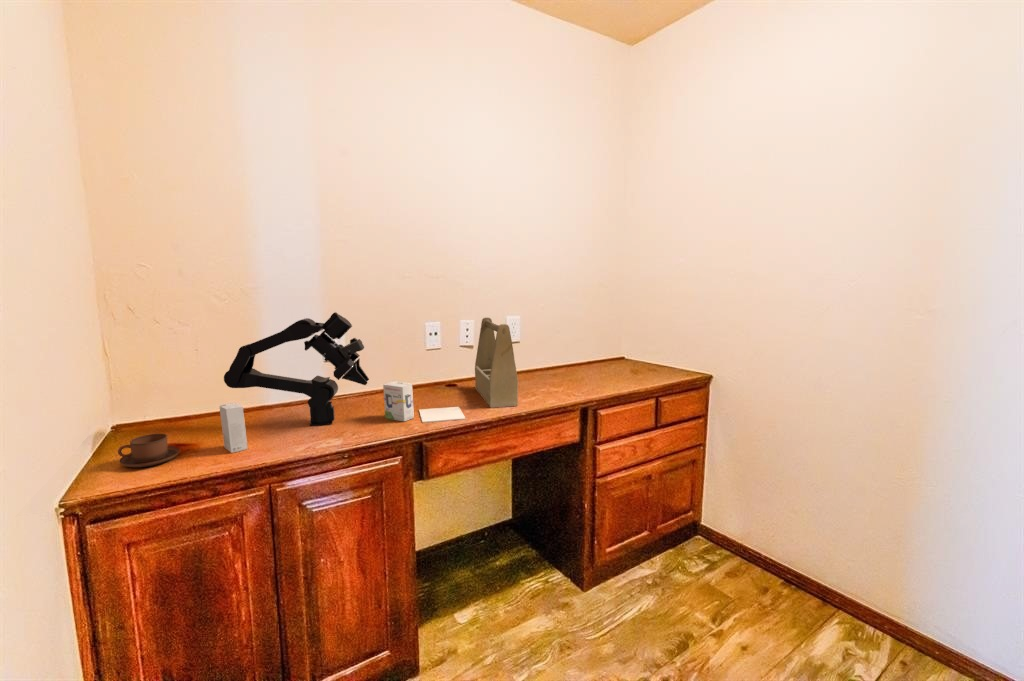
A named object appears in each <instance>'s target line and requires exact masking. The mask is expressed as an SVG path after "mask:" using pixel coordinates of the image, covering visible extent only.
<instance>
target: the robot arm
mask: <svg viewBox="0 0 1024 681" xmlns="http://www.w3.org/2000/svg"><path fill="white" fill-rule="evenodd" d="M352 327H353V324H352V323H351V322H350V321H349V320H348V319H347V318H345V317H344V316H342V315H341V314H339V313H337V312H336V311H335V312H332V314H331V315H330V317H329V318H328V319H327V320H326V321H325V322H324V323H323V322H317V321H314V320H313V319H311V318H309V317H308V318H307V317H306V318H302V319H299V320H297V321H295V322H294V323H292V324H290V325H289V326H287V327H286V328H284V329H283V330H281V331H279V332H277V333H274V334H271V335H269V336H267V337H265V338H262V339H259V340H257V341H255V342H251V343H248V344H244V345H242V346H240V347H239V348H238V350H237V353H236V356H235V358H234V360H233V361H232V363H231V364H230V366H229V369H228V370H227V371H226V372H225V373H224V376H223V381H224V383H225V385H226V386H227V387H228V388H231V389H247V388H249V389H250V388H255V387H257V388H263V389H270V390H276V391H282V392H283V391H284V392H289V393H297V394H302V395H303V394H304V395H306V396H307V397H310V398H309V399H308V400H307V404H308V407H309V412H310V414H309V415H310V423H309V426H310V427H313V426H324V425H327V426H328V425H332V424H333V422H334V421H335V418H336V417H335V406H333V402H332V400H333V398H334V397H335V395H336V394H337V393H338V390H339V385H338V383H337V382H336V381H335V380H334V379H330V378H331V377H330V376H329V377H324V376H321V375H316V376H314V377H313V378H312V379H310V380H308V379H301V378H296V377H290V376H288V377H287V376H284V375H283V376H281V375H276V374H270V373H264V372H261V371H260V370H257V369H255V368H254V362H255V358H256V355H257V354H260V353H263V352H266V351H268V350H270V349H272V348H275V347H277V346H280V345H283V344H285V343H289V342H294V341H300V340H303V339H307V338H310V337H311V338H310V340H305V341H303V343H304V350H305V351H308V350H309V349H310V348H312V349H314V350H315V351H316V352H317V353H318V354H320V355H321V356H322V357H323V358H324V359H323V360H324V361H325V362H329V363H330V364H331V365H333V366H334V371H333V377H334V378H336V380H338V381H339V380H347V381H350V382H353V383H357V384H360V385H362V386H366V385H367V384H368V381H370V378H369V377H368V376H367V374H366V372H365V371H364V369H363V368H362V366H361V364H360V360H361V359H360V358H359V357H360V354H359V353H358V352H361V351H363V350H364V348H365V345H364V344H363V341H362V340H361V339H360V338H359V339H357V338H356V337H353V338H351V339H350V340H349V343H348V344H346V345H343V344H338V343H337V342H336V341H335V340H336V339H337V340H341V338H342V337H343V336H344V335H345V334H346V333H347V332H348V331H349V330H350V329H351V328H352ZM321 331H322V332H321ZM319 332H321V333H320V334H316V333H319Z"/></svg>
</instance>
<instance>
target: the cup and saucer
mask: <svg viewBox="0 0 1024 681" xmlns="http://www.w3.org/2000/svg"><path fill="white" fill-rule="evenodd" d="M129 443H130V444H124V445H121V446H120V447H119V448H118V450H117V454H118V455H119V456H120V457H121V458H120V459H119V463H120V465H122V466H124V467H128V468H147V467H152V466H156V465H159V464H160V465H161V464H163V463H166V462H169V461H170V460H173V459H174V458H175V457H177V455H179V453H180V447H178V446H173V445H168V435H167V434H165V433H151V434H145V435H141V436H137V437H134V438H133V439H131V440H130V441H129ZM127 448H128V449H130V452H129V453H126V454H124V453H123V452H122V451H123V449H127Z"/></svg>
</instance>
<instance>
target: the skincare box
mask: <svg viewBox="0 0 1024 681" xmlns="http://www.w3.org/2000/svg"><path fill="white" fill-rule="evenodd" d="M219 414H220V423H221V428H222V429H221V430H222V437H223V438H222V439H223V445H224V449H226V450H227V451H229V453H231V454H232V453H237V452H242V451H245V450H246V451H247V450H248V440H247V439H248V438H247V430H246V424H245V423H246V422H245V415H244V414H245V413H244V406H243V405H240V404H238V402H233V403H226V404H222V405H219Z"/></svg>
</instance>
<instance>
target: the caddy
mask: <svg viewBox="0 0 1024 681" xmlns="http://www.w3.org/2000/svg"><path fill="white" fill-rule="evenodd" d="M495 334H496V335H495ZM475 356H476V358H475V363H474V380H475V382H474V383H475V390H476V392H477V393H478V394H479V395H480V396H481V397H482V399H483V400H484V401H485V403H486V404H487V405H488V406H489V408H491V409H495V408H505V407H507V408H508V407H517V406H518V404H519V403H518V402H519V399H518V397H519V392H518V391H519V390H518V389H519V386H518V385H519V383H518V382H519V379H518V373H517V372H518V371H517V367H516V360H515V354H514V346H513V341H512V335H511V330H510V326H509V324H506V323H503V324H502V323H500V324H499V325H498V324H496V323H494V322H493V321H492V319H491V318H490V317H483V318H482V320H481V323H480V331H479V336H478V343H477V349H476V355H475Z"/></svg>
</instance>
